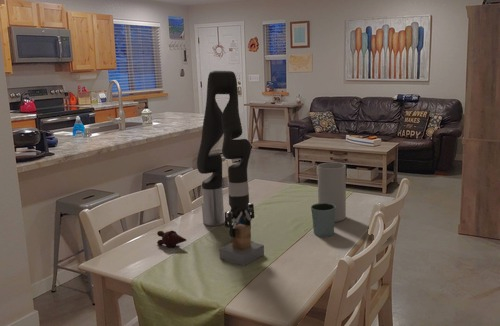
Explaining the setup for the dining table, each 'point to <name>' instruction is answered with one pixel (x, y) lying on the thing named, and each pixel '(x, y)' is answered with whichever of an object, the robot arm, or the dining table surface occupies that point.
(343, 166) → the cylinder vase
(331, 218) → the blue gray cup
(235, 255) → the slate base
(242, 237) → the walnut block
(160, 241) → the dark brown animal figure
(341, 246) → the dining table surface
